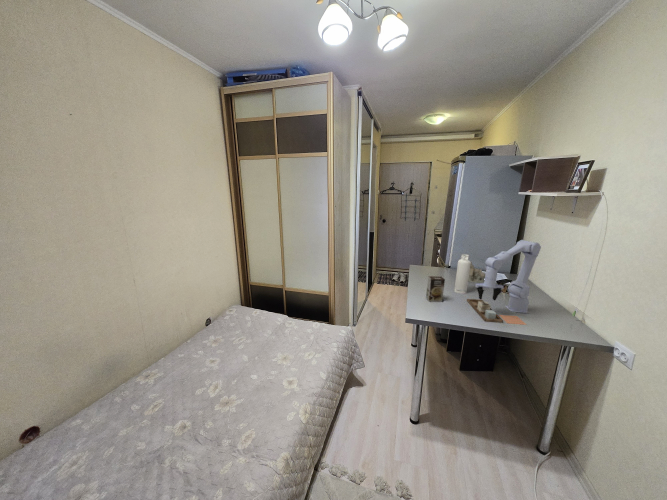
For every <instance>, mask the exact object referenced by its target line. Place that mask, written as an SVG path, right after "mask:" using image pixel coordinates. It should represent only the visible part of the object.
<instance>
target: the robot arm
mask: <svg viewBox="0 0 667 500" xmlns="http://www.w3.org/2000/svg"><path fill="white" fill-rule="evenodd" d="M541 249H542V247H541V244H540V243H539V242H535V241H530V240H525V239H521V240H519V241H517V242H516V243H515V245H514V246H513V247H511V248H510V249H508V250H507V251H503V250H502V251H500V252H499V253H498V254H496V255H494V256H492V257H491V256H490V257H487V258H486V259H485V261H484V266H485V278H484V279H485V280H484V282H483V283H475V286H474V287H475V288H476V290H477V292H478V300H483V294H484V291H485V289H492V290H493V293H492V300H493V301H496V300H497V298H498V296H499V295H501V293H502V290H504V285H502V284H498V283H497V277H498V272H499V269H501V267H502V266H503V264H505V263H506V262H508V261H510V260H511V258H512V257H513V256H515V255H517V254H519V253H522V255H523V256H524V259H523V261H522V263H521V267H520V268H519V271H518V274H517V277H516V280H512V281H511V283H510V284H509V286H508V287H507V293H508V295H509V299H508V305H505V307H506V308H507V309H508V310H509V311H511V312H516V313H524V314H528V308H529V303H530V301H529V298H528V297H529V296H530V290H531V287H530V286H529V284H528V280H529V278H530V275H531V273H532V270H533V267H534V264H535V262H536V260H537V257H539V254H540V251H541Z"/></svg>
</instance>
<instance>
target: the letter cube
mask: <svg viewBox="0 0 667 500" xmlns="http://www.w3.org/2000/svg"><path fill="white" fill-rule="evenodd" d="M491 306H492V305H491V304H490V303H489V301H484V302H481V301H478V307H477V309H478V310H479V311H482V312H485V311H486V310H490V308H492V307H491Z"/></svg>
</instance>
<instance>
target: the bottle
mask: <svg viewBox="0 0 667 500" xmlns="http://www.w3.org/2000/svg"><path fill="white" fill-rule="evenodd" d="M469 258H470V255H469V254H465V253H462V254H461V256H460V259H458V261H457V265H456V275H455V282H454V283H455V284H454V292H455V293H456V294H463V295H464V294H467V290H468V284H469V282H468V278H469V271H470V265H471V262H472V261H470V260H469Z"/></svg>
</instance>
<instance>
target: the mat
mask: <svg viewBox="0 0 667 500" xmlns="http://www.w3.org/2000/svg"><path fill="white" fill-rule="evenodd" d="M498 316H499V317H500V318H501V319H502V320H503V322H505V323H506V324H509V325H519V326H520V325H522V326H527V325H528V324H527V323H526V322H525V321H523V320H522V319H521V318H520V317H518V315H509V314H508V315H506V314H498Z"/></svg>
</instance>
